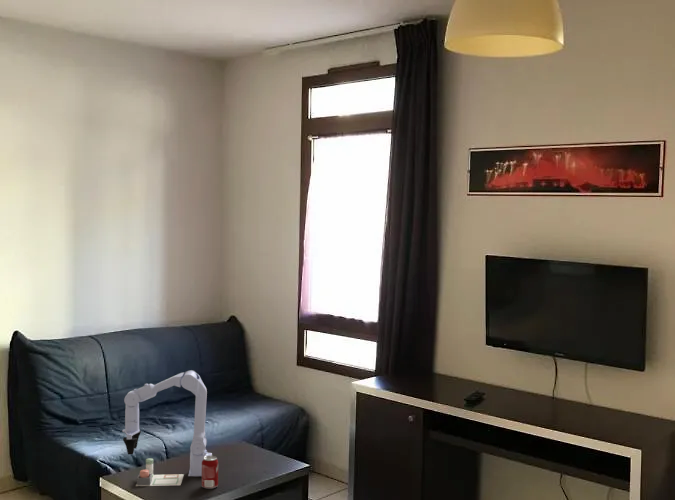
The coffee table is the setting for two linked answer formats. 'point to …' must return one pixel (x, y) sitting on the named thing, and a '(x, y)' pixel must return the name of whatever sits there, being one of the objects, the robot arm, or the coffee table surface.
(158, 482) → the sheet
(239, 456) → the coffee table surface
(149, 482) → the button base
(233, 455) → the coffee table surface
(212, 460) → the soda can
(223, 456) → the coffee table surface
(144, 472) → the button
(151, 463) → the marker
